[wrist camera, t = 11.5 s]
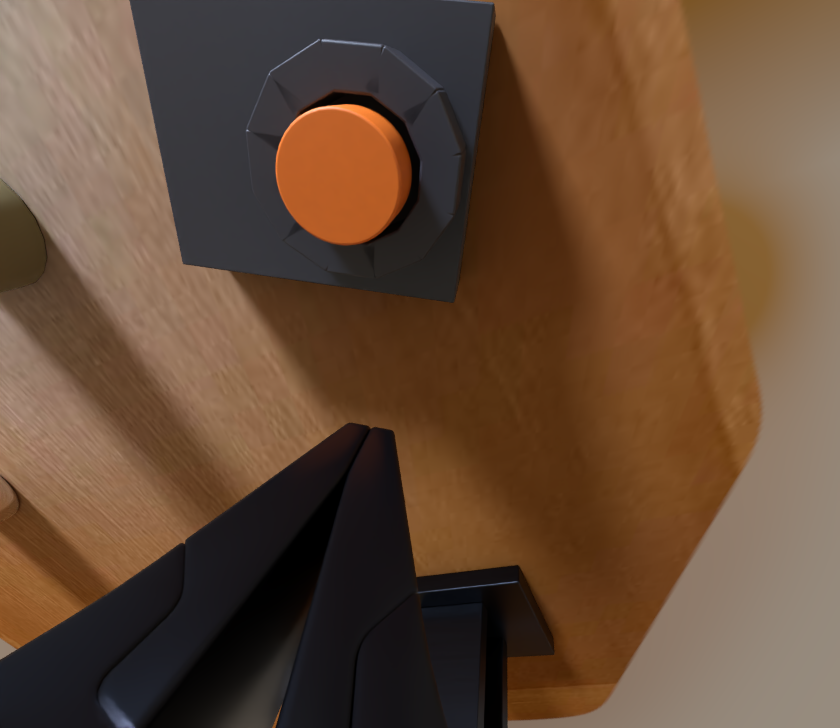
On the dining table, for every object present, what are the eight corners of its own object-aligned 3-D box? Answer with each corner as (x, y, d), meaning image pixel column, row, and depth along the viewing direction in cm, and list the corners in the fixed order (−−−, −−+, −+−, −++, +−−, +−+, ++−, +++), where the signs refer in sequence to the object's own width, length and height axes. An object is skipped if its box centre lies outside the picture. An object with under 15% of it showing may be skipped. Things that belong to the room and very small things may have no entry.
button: (417, 110, 13) (405, 113, 11) (408, 237, 15) (397, 254, 13) (294, 97, 13) (267, 98, 12) (301, 223, 15) (279, 237, 13)
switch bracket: (422, 645, 34) (392, 845, 25) (376, 581, 31) (323, 785, 22) (553, 637, 31) (573, 863, 22) (518, 564, 28) (525, 796, 19)
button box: (495, 13, 14) (493, -11, 11) (458, 282, 19) (449, 324, 16) (169, -14, 15) (73, -44, 12) (212, 248, 20) (152, 280, 17)
